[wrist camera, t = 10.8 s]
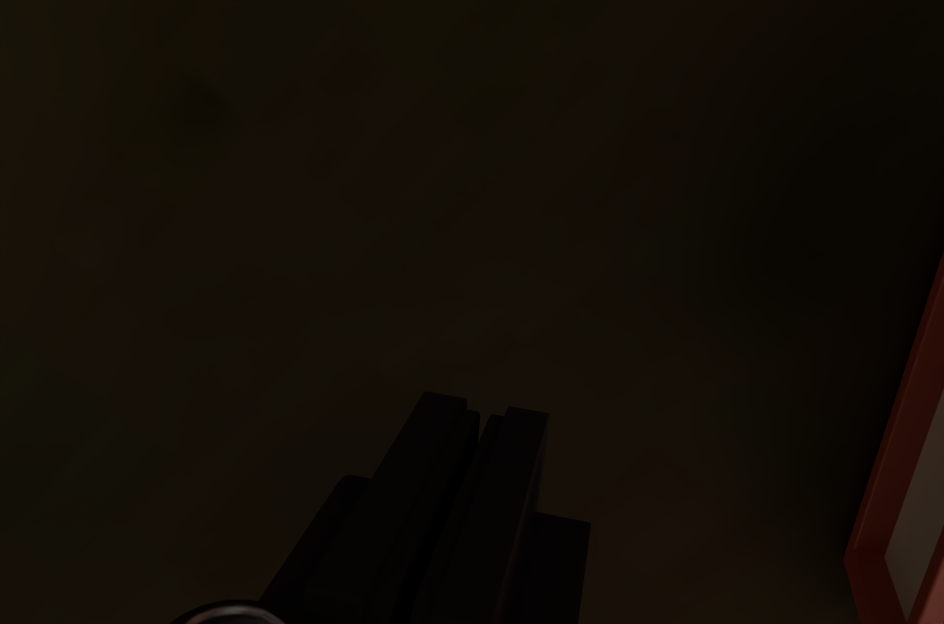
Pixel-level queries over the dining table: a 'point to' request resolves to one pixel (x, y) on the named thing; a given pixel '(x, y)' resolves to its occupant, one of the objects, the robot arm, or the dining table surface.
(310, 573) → the robot arm
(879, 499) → the book
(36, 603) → the dining table surface
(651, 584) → the dining table surface
